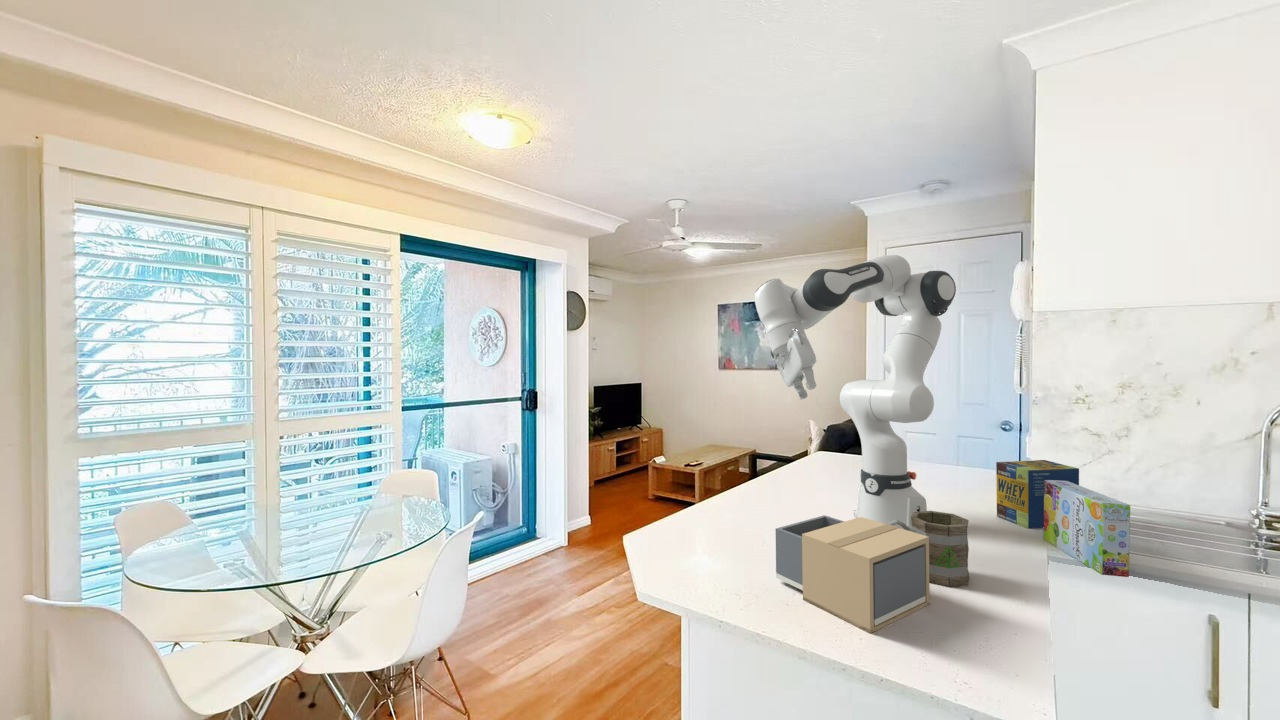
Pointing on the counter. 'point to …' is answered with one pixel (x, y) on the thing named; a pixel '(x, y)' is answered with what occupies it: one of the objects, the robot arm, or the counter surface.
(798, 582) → the mailer tray
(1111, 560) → the snack box
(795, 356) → the robot arm
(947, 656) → the counter surface
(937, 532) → the mug
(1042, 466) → the protein box
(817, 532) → the mailer sleeve
